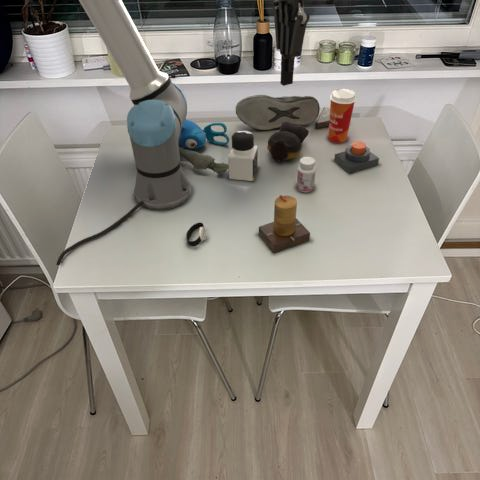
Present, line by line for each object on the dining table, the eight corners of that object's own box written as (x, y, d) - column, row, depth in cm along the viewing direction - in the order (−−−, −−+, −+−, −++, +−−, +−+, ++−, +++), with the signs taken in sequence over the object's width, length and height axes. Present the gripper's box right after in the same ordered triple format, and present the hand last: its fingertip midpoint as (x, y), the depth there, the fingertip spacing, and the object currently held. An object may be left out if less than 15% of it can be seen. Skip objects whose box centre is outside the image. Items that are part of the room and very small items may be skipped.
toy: (211, 127, 148) (200, 157, 152) (156, 102, 145) (146, 133, 149) (208, 132, 137) (196, 165, 142) (148, 105, 134) (138, 139, 139)
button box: (349, 173, 135) (351, 161, 132) (333, 160, 140) (335, 148, 137) (378, 164, 138) (380, 152, 135) (361, 152, 143) (364, 140, 140)
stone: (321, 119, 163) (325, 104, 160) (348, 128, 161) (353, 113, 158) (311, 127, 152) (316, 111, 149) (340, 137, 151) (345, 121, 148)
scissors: (225, 122, 142) (171, 122, 151) (223, 124, 141) (170, 124, 150) (230, 143, 147) (178, 142, 156) (229, 145, 146) (176, 144, 155)
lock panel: (275, 255, 113) (275, 246, 111) (257, 233, 119) (257, 224, 117) (310, 242, 116) (311, 233, 114) (291, 221, 121) (292, 213, 119)
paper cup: (320, 136, 150) (325, 91, 139) (341, 130, 152) (347, 85, 141) (333, 147, 145) (340, 101, 135) (354, 141, 147) (362, 96, 137)
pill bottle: (293, 190, 131) (295, 162, 124) (300, 181, 133) (302, 154, 127) (309, 194, 129) (312, 166, 123) (316, 185, 132) (319, 158, 125)
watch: (202, 249, 115) (201, 237, 112) (183, 247, 115) (182, 235, 113) (208, 230, 120) (208, 218, 117) (190, 228, 120) (189, 216, 118)
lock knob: (298, 232, 114) (301, 203, 108) (280, 238, 113) (281, 209, 107) (288, 220, 118) (290, 192, 111) (269, 226, 116) (270, 198, 110)
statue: (139, 158, 143) (225, 193, 136) (137, 135, 137) (226, 170, 130) (153, 146, 147) (237, 180, 140) (151, 124, 141) (239, 157, 134)
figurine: (291, 169, 138) (307, 145, 148) (295, 147, 133) (312, 124, 142) (260, 158, 140) (278, 136, 149) (264, 137, 135) (282, 115, 144)
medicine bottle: (253, 181, 134) (253, 141, 125) (228, 179, 135) (227, 139, 126) (257, 168, 138) (258, 128, 129) (234, 166, 139) (232, 126, 130)
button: (356, 156, 135) (357, 149, 133) (348, 150, 137) (349, 143, 135) (367, 153, 136) (369, 146, 134) (359, 146, 138) (360, 140, 137)
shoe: (236, 131, 151) (231, 120, 160) (318, 128, 154) (309, 117, 164) (236, 97, 145) (231, 87, 154) (322, 94, 148) (312, 84, 157)
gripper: (323, -26, 98) (313, 90, 116) (291, -39, 106) (286, 71, 124) (292, -21, 96) (286, 96, 114) (262, -35, 104) (261, 77, 122)
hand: (286, 83), depth 119 cm, fingers closed
